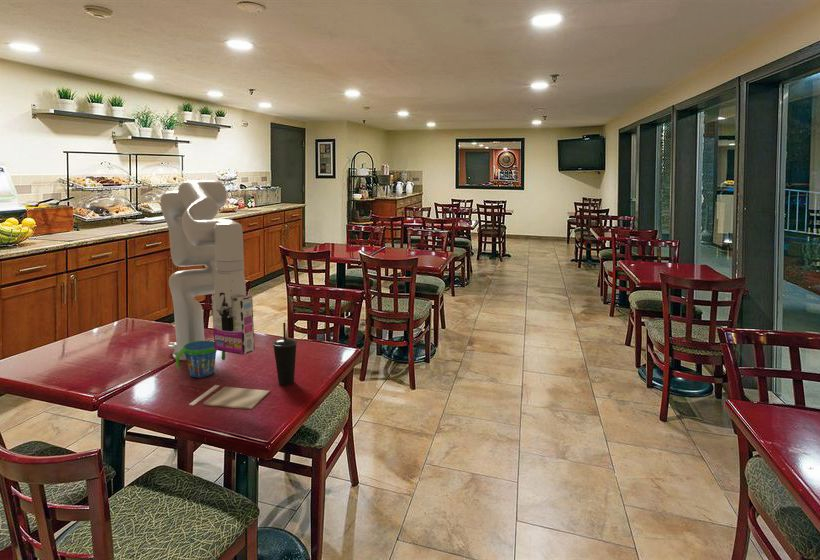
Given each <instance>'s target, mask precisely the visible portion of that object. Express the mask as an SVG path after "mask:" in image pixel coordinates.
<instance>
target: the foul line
mask: <svg viewBox="0 0 820 560" xmlns="http://www.w3.org/2000/svg"><path fill="white" fill-rule="evenodd" d="M219 387H220V385H219V384H218V385H217V384H214V385H213V386H212V387H211V388H209V389H208V390H206V391H205V392H203V393H202V394H201V395H200V396H198V397H197V398H195V399H194V400H192V401H191V402H190V403H188V406H195V405H197V404H198V403H199V402H200V401H202V400H204V399H205V398H206V397H208V395H210V394H211V393H213V392H214V391H215V390H217V389H218V388H219Z"/></svg>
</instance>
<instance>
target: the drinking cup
mask: <svg viewBox="0 0 820 560" xmlns="http://www.w3.org/2000/svg"><path fill="white" fill-rule="evenodd" d="M286 327H287V326H286V322H283V327H282V328H283V337H282V338H278V339H276V340H274V341H273V342H272V346H273V353H274V359H275V365H276V366H275V367H276V373H277V380H278V385H279V386H283V387H284V386H291V385H293V384H294V382H295V375H296V374H295V373H296V371H295V370H296V357H297V355H296V354H297V345H298V341H297V340H296V339H294V338H290V337H287V333H286Z"/></svg>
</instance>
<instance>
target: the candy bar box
mask: <svg viewBox="0 0 820 560" xmlns="http://www.w3.org/2000/svg"><path fill="white" fill-rule="evenodd" d="M210 298H211V299H210V300H211V309H212V310H211V311H212V312H211V313H212V328H213V329H212V330H213V342H214V348H215V350H217V352H218V351H219V352H222V351H224V352H225V353H229V354H230V353H232V354H236V355H242V356H245V355H247V354H250V353H253V352H254V351H255V350H256V348H255V332H254V331H255V329H254V328H255V327H254V325H255V324H254V306H253V296H250V295H246V296H244V295H241V296H239V297H237V298H235V299H234V306H233V307H232V314H231V317H233V331H223V330H222V321H221V317H220V314H219V312H218V311H217V310H216V306H215V294H214V295H212V296H211V297H210ZM225 306H228V305H227V304H225ZM225 310H226V311H227V312H228V309H225Z"/></svg>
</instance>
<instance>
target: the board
mask: <svg viewBox="0 0 820 560" xmlns="http://www.w3.org/2000/svg"><path fill="white" fill-rule="evenodd" d="M270 393H271V390H264V389H254V388H252V389H251V388H245V387H242V388H241V387H232V386H231V387H230V386H223V387H221V388H220V389H219V390H218V391H217V392H215V393H214V394H212V396H210V397H209V398H207V399H206V400H204V401H203V402H202V406H212V407H223V408H232V409H241V410H253V409H254V408H255V407H256V406H257V405H258V404H259V403H260V402H261V401H262V400H263V399H264V398H265V397H267V396H268V394H270Z"/></svg>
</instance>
